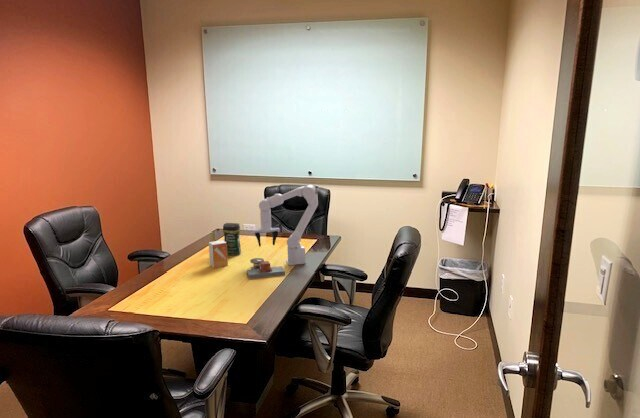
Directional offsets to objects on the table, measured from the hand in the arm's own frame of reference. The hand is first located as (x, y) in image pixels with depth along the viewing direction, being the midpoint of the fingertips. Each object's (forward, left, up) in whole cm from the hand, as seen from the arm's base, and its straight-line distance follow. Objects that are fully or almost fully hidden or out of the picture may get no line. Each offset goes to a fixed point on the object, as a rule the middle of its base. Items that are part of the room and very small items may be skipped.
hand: (266, 245), depth 234 cm
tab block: (+4, +19, -10) cm, 21 cm away
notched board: (+4, +20, -9) cm, 22 cm away
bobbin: (+7, +11, -9) cm, 16 cm away
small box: (+26, -2, -10) cm, 28 cm away
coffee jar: (+17, -21, -10) cm, 29 cm away
